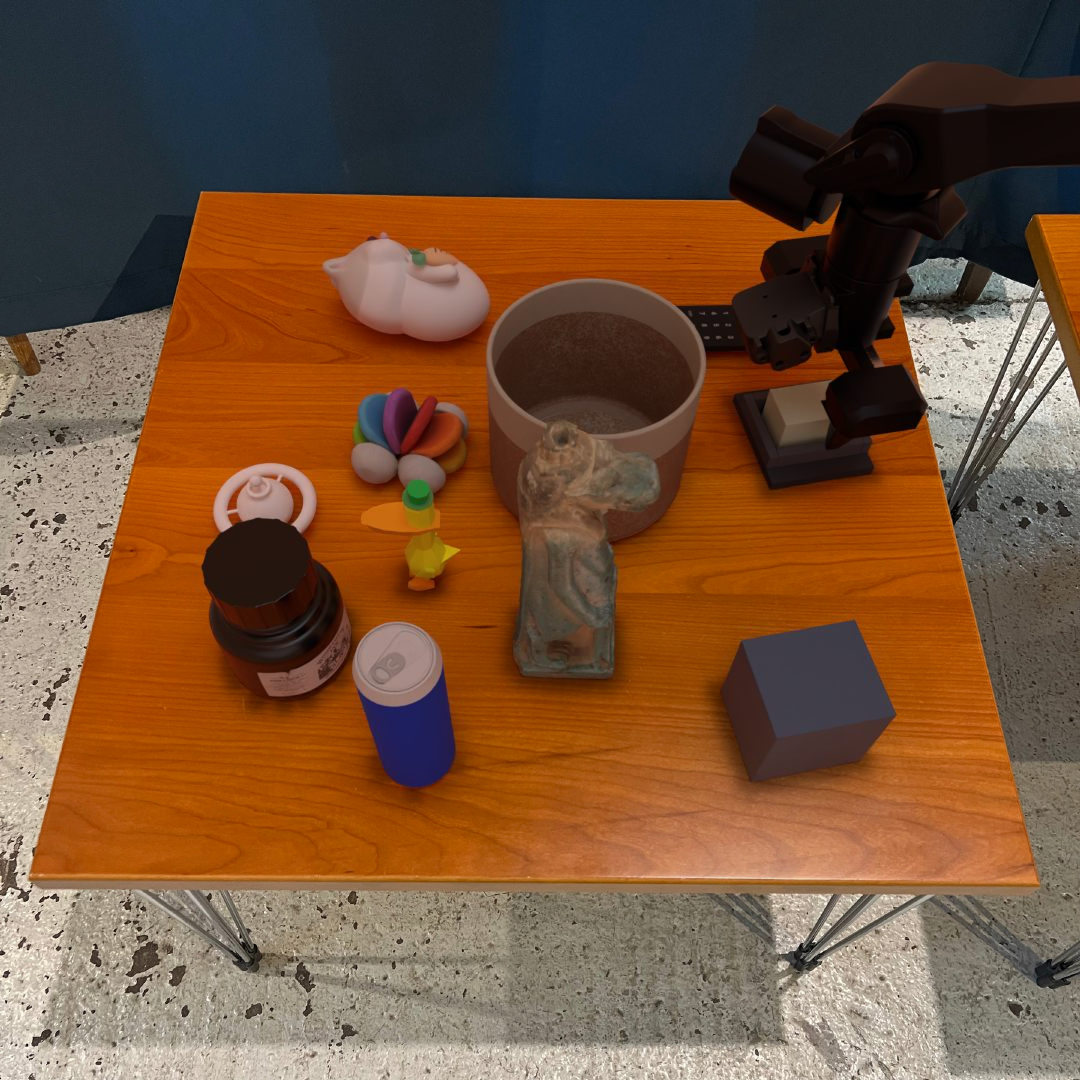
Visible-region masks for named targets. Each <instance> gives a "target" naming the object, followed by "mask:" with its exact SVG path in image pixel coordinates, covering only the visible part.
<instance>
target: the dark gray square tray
mask: <svg viewBox="0 0 1080 1080" xmlns="http://www.w3.org/2000/svg"><path fill="white" fill-rule="evenodd" d="M829 380H832V379H824V380H817V381H812V382H811V381H810V382H804V383H803V382H802V383H797V384H790V385H783V386H776V387H769V388H763V389H756V390H749V391H742V392H736V393H734V394H733V397H732V403H733V406H734V408H735V411H736V413H737V416H738V418H739V420H740V423H741V425H742V427H743V430H744V432H745V434H746V437H747V439H748V443H749V444H750V447H751V449H752V451H753V455H754V456H755V459H756V461H757V463H758V466H759V468H760V471H761V473H762V476H763V478H764V480H765V482H766V483H765V484H766V485H767V487H768V490H769V491H774V490H780V489H787V488H794V487H798V486H799V487H800V486H805V485H811V484H817V483H823V482H830V481H831V482H832V481H836V480H842V479H848V478H855V477H862V476H867V475H872V473H873V471H874V469H875V465H874V462H873V461H872V459H871V457H870V455H869V451H870V449H871V447H872V444H873V442H874V441H873V439H872V436H868V437H861V438H855V439H852V440H851V441H849V442H848V443H846V444H844V445H843V446H841V447H840V448H838V449H833V450H826V448H825V442H819V443H813V444H806V445H800V446H794V447H787V448H781V449H775V446H774V444H773V442H772V439H771V437H770V435H769V432H768V430H767V428H766V426H765V423H764V421H763V419H762V413H763V410H764V407H765V403H766V400H767V397H768V394H769V391H770V389H775V388H782V387H788V386H795V385H802V384H809V383H815V382H822V381H829Z"/></svg>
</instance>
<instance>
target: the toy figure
mask: <svg viewBox="0 0 1080 1080" xmlns="http://www.w3.org/2000/svg"><path fill="white" fill-rule="evenodd" d="M441 522H442V513H441V511H440V510H439V509H437V508H435V503H434V493H432V491H431V490H430V487H429V485H428V483H427V482H425V481H423V480H420V479H417V480H414V481H410V483H409V484H408V486H407V488H405V489H404V490H403V492H402V495H401V501H396V502H385V503H383V504H379V505H375V506H372V507H371V508H369V509H366V510H365V511H363V512H362V513H361V517H360V524H362V525H364V526H366V527H368V528H369V529H370V530H372V531H373V532H376V533H381V534H385V535H391V536H392V535H393V536H405V537H406V536H407V537H408V536H409V537H411V539H410V540H409V542H408V543H407V546H406V547H405V549H404V556H405V561H406V564H407V566H408V569H409V571H408V576H409V577H410V578H412V579H411V580H408V581H407V587H408V590H413V591H416V592H419V591H420V592H421V591H426V590H430V589H434V588H435V587H436V583H435V580H433V579H436V578H437V577H438V576H440V575H441V574H442V573H443V571H444V569H445V567H446V565H447V564H448V561H450V560H451V559H452V558H453V557H454V556H456V554H458V553H459V552H460V551H461V549H459V548H457V547H454V546H452V545H448V544H445V543H444V541H442V538H441V537H438V532H436V530H439V529H441V524H442V523H441Z"/></svg>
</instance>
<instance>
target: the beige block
mask: <svg viewBox="0 0 1080 1080" xmlns="http://www.w3.org/2000/svg"><path fill="white" fill-rule="evenodd" d="M828 380H829V381H823V380H821V381H822V382H816V381H814V382H815V383H810V382H808V383H809V384H803V383H801V384H802V385H796V384H794V385H795V386H789V385H787V386H788V387H782V386H781V387H782V388H776V387H774V388H775V389H770V391H769V394H768V397H767V400H766V403H765V407H764V410H763V413H762V419H763V421H764V423H765V426H766V428H767V430H768V432H769V435H770V437H771V439H772V442H773V444H774V446H775V449H781V448H787V447H794V446H800V445H806V444H813V443H819V442H825V439H826V434H827V430H828V427H829V423H830V420H829V418H828V416H827V414H826V411H825V409H824V407H823V405H822V403H821V400H826V395H825V392H826V390H827V387H828V384H829V383H830V382H831V381H832V380H833V379H831V380H830V379H828Z"/></svg>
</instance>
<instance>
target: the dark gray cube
mask: <svg viewBox="0 0 1080 1080" xmlns="http://www.w3.org/2000/svg"><path fill="white" fill-rule="evenodd" d="M720 694H721V697H722V700H723V703H724V706H725V709H726V712H727V715H728V719H729V721H730V724H731V727H732V730H733V733H734V736H735V739H736V741H737V745H738V748H739V751H740V754H741V756H742V760H743V764H744V766H745V768H746V772H747V775H748V778H749V781H750V783H756V782H763V781H766V780H772V779H776V778H781V777H787V776H792V775H797V774H801V773H807V772H811V771H817V770H821V769H826V768H832V767H836V766H837V767H838V766H841V765H842V766H843V765H847V764H852V763H858V762H860V761H861V760H862V759H863V757H864V756H866V754H867V753H868V752H869V750H870V749H871V748H872V747H873V746H874V744H875V742H876V741H877V740H878V739H879V738H880V737H881V736H882V734H884V732H885V731H886V729H887V728H888V727H889V726H890V724H891V723H892V722H893V721H894V719H895V718H896V717H897V712H896V710H895V708H894V704H893V703H892V701H891V699H890V697H889V696H890V695H889V694H888V692H887V689H886V687H885V685H884V683H883V680H882V677H881V676H880V674H879V671H878V668H877V666H876V664H875V662H874V659H873V656H872V655H871V653H870V651H869V648H868V645H867V643H866V640H865V639H864V636H863V634H862V632H861V630H860V627H859V625H858V623H857V620H856V619H851V620H846V621H840V622H839V621H838V622H834V623H828V624H823V625H818V626H811V627H805V628H800V629H796V630H789V631H784V632H779V633H773V634H767V635H761V636H757V637H752V638H745V639H742V640H740V643H739V645H738V648H737V650H736V653H735V655H734V657H733V659H732V662H731V665H730V666H729V670H728V672H727V675H726V677H725V680H724V682H723V684H722V687H721V688H720Z"/></svg>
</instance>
